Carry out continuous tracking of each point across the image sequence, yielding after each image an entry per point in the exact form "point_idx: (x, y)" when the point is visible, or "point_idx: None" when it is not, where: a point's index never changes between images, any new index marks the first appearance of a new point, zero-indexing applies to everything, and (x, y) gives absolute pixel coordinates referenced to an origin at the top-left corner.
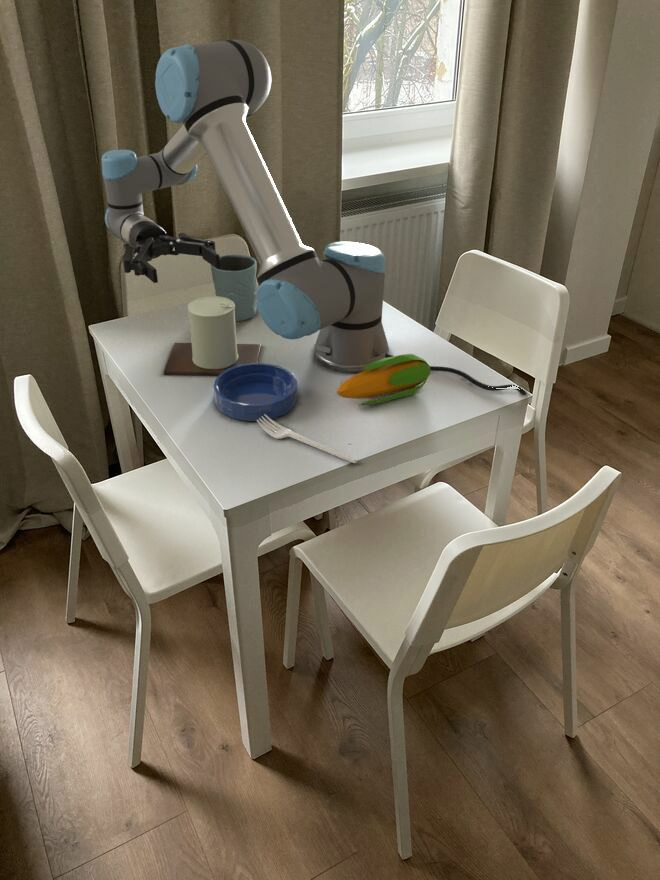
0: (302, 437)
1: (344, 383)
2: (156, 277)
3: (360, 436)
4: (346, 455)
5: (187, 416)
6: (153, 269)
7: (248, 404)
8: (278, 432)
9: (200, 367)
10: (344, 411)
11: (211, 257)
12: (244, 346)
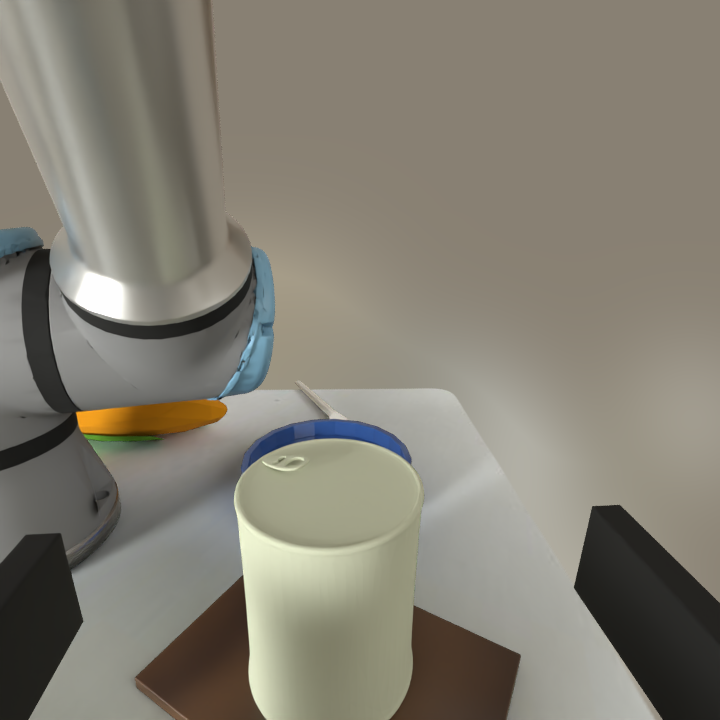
0: (326, 404)
1: (210, 401)
2: (586, 556)
3: (254, 403)
4: (300, 383)
5: (470, 495)
6: (614, 507)
7: (370, 426)
8: None
9: None
10: (226, 432)
11: (10, 656)
12: (193, 689)
